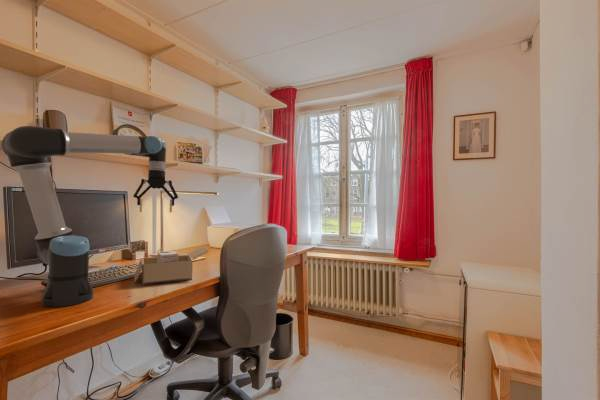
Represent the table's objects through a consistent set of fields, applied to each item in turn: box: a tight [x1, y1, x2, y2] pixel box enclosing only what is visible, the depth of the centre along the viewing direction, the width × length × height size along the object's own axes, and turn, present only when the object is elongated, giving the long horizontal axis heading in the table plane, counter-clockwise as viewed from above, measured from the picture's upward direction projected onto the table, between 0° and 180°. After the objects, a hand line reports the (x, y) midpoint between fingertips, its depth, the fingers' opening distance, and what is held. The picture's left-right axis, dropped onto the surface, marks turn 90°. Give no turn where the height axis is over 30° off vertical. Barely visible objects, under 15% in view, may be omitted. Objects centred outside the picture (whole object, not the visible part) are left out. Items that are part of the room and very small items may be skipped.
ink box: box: [156, 251, 179, 263], centre depth 141 cm, size 9×5×12 cm, turn 132°
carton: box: [134, 254, 193, 286], centre depth 141 cm, size 24×21×9 cm
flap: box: [188, 245, 209, 261], centre depth 148 cm, size 1×14×8 cm
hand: (155, 212), depth 147 cm, fingers open, 13 cm apart
